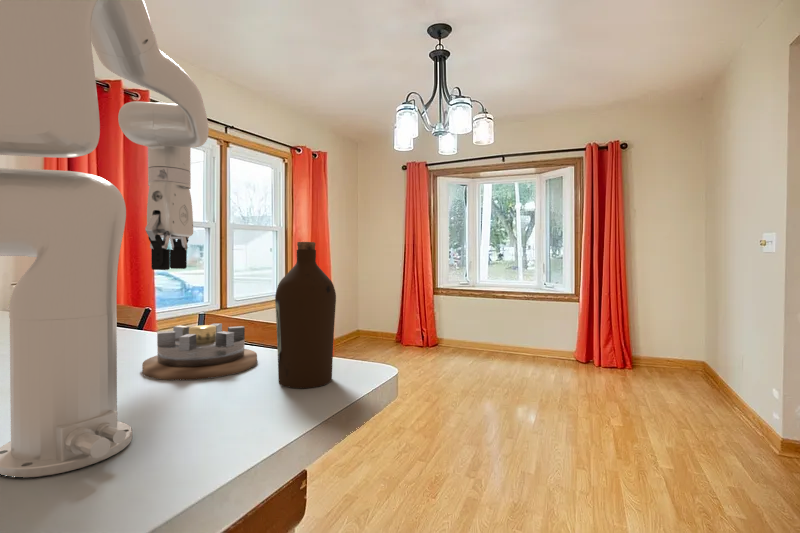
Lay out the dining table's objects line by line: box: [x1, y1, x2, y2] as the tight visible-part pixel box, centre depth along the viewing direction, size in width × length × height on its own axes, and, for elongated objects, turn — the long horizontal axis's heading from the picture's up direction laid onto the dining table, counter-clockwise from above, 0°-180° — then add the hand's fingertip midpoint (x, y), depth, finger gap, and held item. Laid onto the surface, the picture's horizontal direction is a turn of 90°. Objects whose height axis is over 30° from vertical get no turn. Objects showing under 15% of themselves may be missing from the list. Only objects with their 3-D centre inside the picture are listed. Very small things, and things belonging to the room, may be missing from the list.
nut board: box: [141, 348, 258, 381], centre depth 87 cm, size 21×21×2 cm
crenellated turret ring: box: [156, 322, 246, 367], centre depth 87 cm, size 16×16×6 cm
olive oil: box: [274, 241, 337, 389], centre depth 77 cm, size 11×11×25 cm
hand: (169, 268), depth 87 cm, fingers open, 6 cm apart
